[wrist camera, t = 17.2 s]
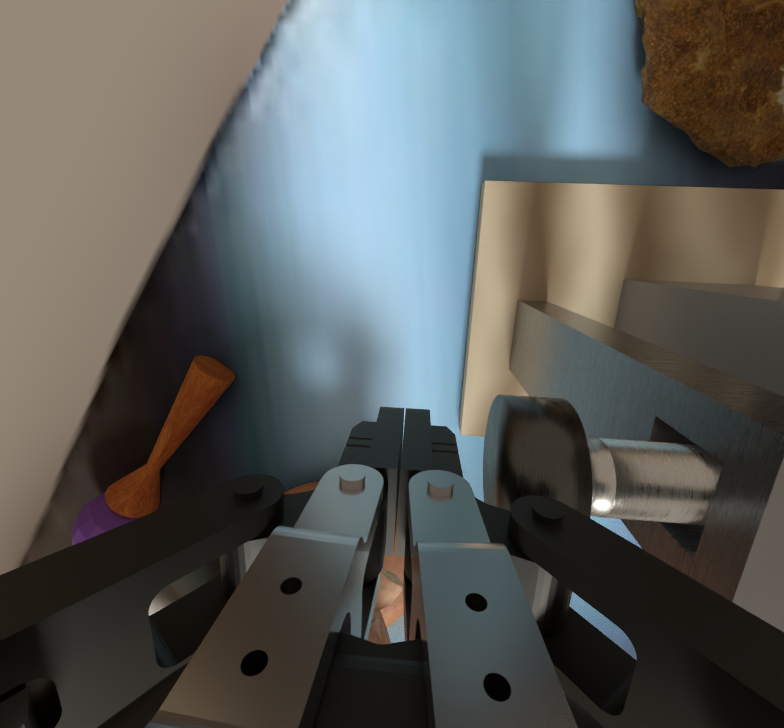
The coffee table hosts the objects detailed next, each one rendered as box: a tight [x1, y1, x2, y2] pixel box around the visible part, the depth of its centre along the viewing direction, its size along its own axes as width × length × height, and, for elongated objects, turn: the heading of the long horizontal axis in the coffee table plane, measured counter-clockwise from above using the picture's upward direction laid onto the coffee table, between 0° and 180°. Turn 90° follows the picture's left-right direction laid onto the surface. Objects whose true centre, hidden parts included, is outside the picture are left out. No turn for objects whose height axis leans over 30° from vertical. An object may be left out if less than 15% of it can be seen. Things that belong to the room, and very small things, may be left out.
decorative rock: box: [634, 0, 784, 170], centre depth 23 cm, size 11×4×15 cm
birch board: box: [459, 181, 784, 437], centre depth 28 cm, size 20×18×2 cm
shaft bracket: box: [509, 300, 784, 632], centre depth 18 cm, size 2×5×21 cm, turn 178°
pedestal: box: [614, 279, 784, 397], centre depth 19 cm, size 8×8×17 cm
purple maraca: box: [71, 355, 235, 545], centre depth 32 cm, size 6×6×20 cm
